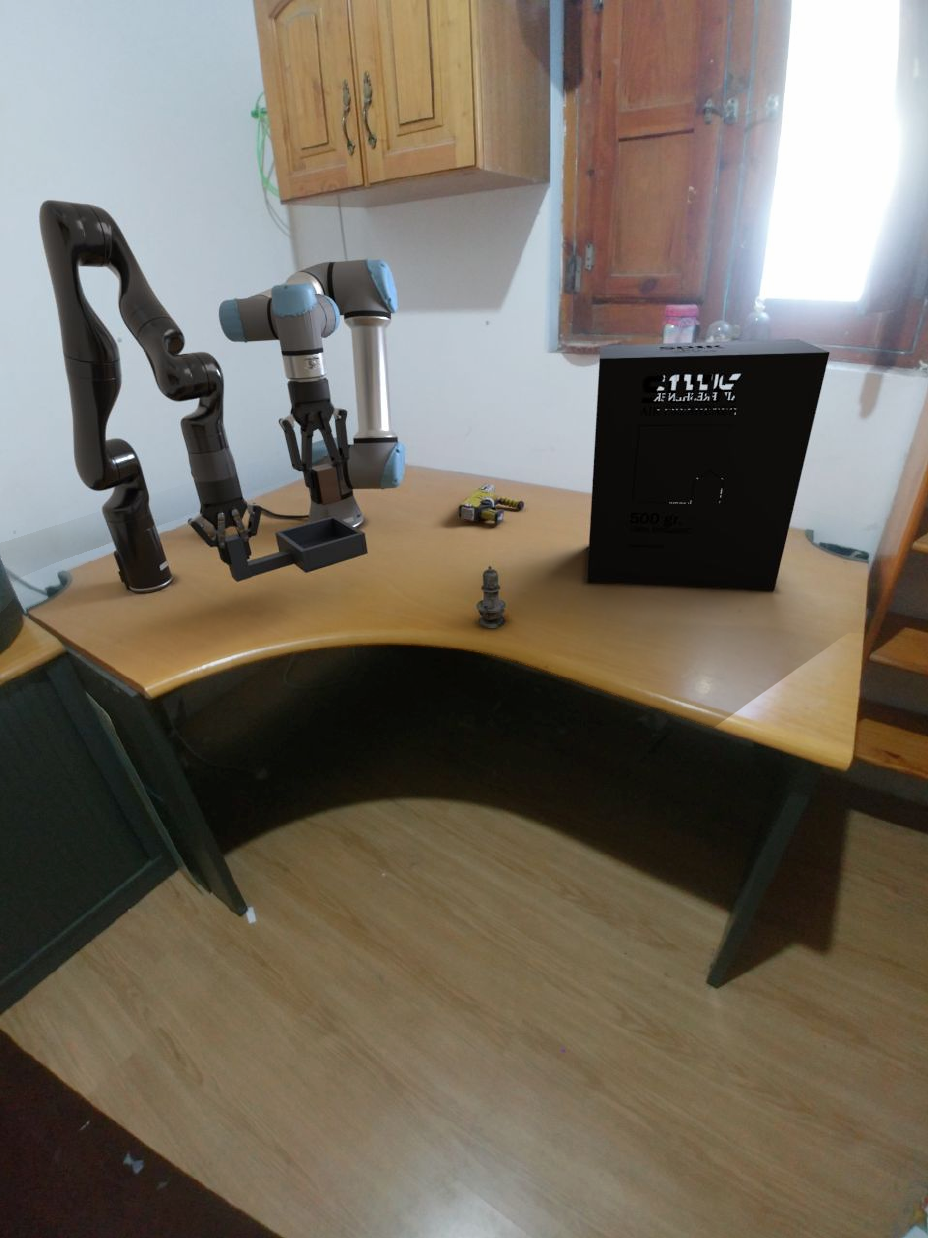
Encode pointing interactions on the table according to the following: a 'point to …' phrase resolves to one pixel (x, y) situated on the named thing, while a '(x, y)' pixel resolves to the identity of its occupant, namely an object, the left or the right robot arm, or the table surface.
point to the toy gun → (486, 505)
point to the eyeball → (208, 528)
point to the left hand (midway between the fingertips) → (237, 560)
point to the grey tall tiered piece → (491, 601)
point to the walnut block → (327, 483)
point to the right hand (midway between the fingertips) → (327, 499)
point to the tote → (300, 548)
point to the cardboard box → (699, 461)
